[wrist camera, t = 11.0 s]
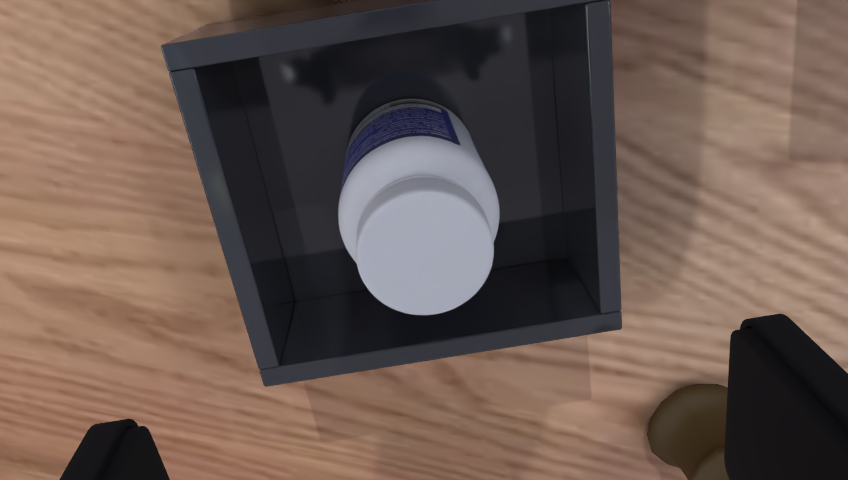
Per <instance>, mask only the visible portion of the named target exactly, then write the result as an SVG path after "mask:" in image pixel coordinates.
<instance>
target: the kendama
mask: <svg viewBox="0 0 848 480" xmlns="http://www.w3.org/2000/svg"><path fill="white" fill-rule="evenodd" d="M727 394H728V388H727V387H724V386H721V385H718V384H696V385H692V386H689V387H686V388H682V389H679V390H677V391H675V392H674V393H673V394H671V395H670V396H669V397H667V398H666V399H665V400H664V401H662V402H661V403H660V405H659V407H658V408H657V410H656V411H655V413H654V414H653V416H652V417H651V420H650V424H649V429H648V433H647V435H648V439H649V443H650V447H651V450H652V452H653V453H654V454H655V455H656V456H658V457H659V458H660V459H661V460H663V461H664V462H665V463H667V464H669V465H672V466H676V467H679V468H680V469H681V470H682V471H683V472H684V474H685V476H686V477H687V479H688V480H729V477H728V475H727V472H726V469H725V463H724V449H725V431H726V413H727Z"/></svg>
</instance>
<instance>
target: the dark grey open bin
mask: <svg viewBox="0 0 848 480" xmlns="http://www.w3.org/2000/svg"><path fill="white" fill-rule="evenodd" d="M161 49H162V52H163V55H164V59H165V62H166V65H167V69H168V71H171V72H169V75H170V78H171V82H172V85H173V88H174V91H175V95H176V98H177V101H178V105H179V108H180V111H181V114H182V118H183V121H184V124H185V128H186V131H187V134H188V138H189V141H190V144H191V147H192V151H193V154H194V157H195V161H196V164H197V167H198V171H199V174H200V177H201V180H202V184H203V187H204V190H205V194H206V197H207V200H208V203H209V207H210V210H211V213H212V217H213V220H214V223H215V227H216V230H217V233H218V236H219V240H220V243H221V246H222V250H223V253H224V256H225V259H226V263H227V266H228V269H229V273H230V276H231V279H232V283H233V286H234V289H235V292H236V296H237V299H238V302H239V306H240V309H241V312H242V315H243V319H244V322H245V325H246V329H247V332H248V335H249V339H250V342H251V345H252V348H253V352H254V355H255V358H256V362H257V365H258V368H259V369H260V374H261V377H262V381H263V384H264V386H266V387H267V386H273V385H279V384H285V383H292V382H298V381H304V380H310V379H316V378H323V377H329V376H335V375H341V374H347V373H353V372H360V371H366V370H372V369H378V368H384V367H391V366H397V365H403V364H409V363H415V362H422V361H428V360H434V359H440V358H446V357H453V356H459V355H465V354H471V353H477V352H483V351H490V350H496V349H502V348H508V347H514V346H521V345H527V344H533V343H539V342H545V341H552V340H558V339H564V338H570V337H576V336H583V335H589V334H595V333H601V332H607V331H613V330H620V329H621V328H622V314H621V311H620V310H621V286H620V258H619V229H618V201H617V173H616V145H615V116H614V88H613V60H612V32H611V3H610V0H352V1H346V2H340V3H334V4H328V5H322V6H316V7H310V8H304V9H298V10H292V11H286V12H280V13H274V14H268V15H262V16H256V17H250V18H243V19H237V20H231V21H225V22H219V23H213V24H207V25H204V26H202V27H200V28H198V29H196V30H193V31H191V32H189V33H187V34H185V35H183V36H180V37H178V38H176V39H174V40H172V41H169V42H167V43H165V44H163V45H161ZM402 99H421V100H427V101H431V102H434V103H436V104H439V105H441V106H443V107H445V108H446V109H448V110H450V111H451V112H452V113H454V114H455V115H456V116H457V117H458V118H459V119H460V120H461V122H462V123H463V124H464V125H465V127H466V128H467V130H468V132H469V133H470V135H471V137H472V139H473V141H474V144H475V146H476V148H477V151H478V153H479V155H480V157H481V159H482V161H483V163H484V165H485V167H486V169H487V171H488V173H489V175H490V177H491V179H492V182H493V184H494V187H495V190H496V193H497V197H498V202H499V212H500V215H499V226H498V231H497V235H496V238H495V240H494V257H493V263H492V267H491V270H490V273H489V275H488V277H487V279H486V281H485V282H484V284H483V285H482V287H481V288H480V289H479V291H478V292H477V293H476V294H475V295H474V296H473V297H471V298H470V299H469V300H468V301H466V302H465V303H463V304H462V305H460V306H458V307H456V308H454V309H452V310H449V311H446V312H443V313H439V314H434V315H413V314H407V313H403V312H400V311H397V310H395V309H392V308H390V307H388V306H387V305H385V304H383V303H382V302H381V301H379V300H378V299H377V298H376V297H375V296H374V295H373V294H372V293H371V292H370V291H369V290H368V288H367V287H366V285H365V284H364V282H363V280H362V278H361V276H360V274H359V271H358V267H357V263H356V262H355V261H354V260H353V258H352V257H351V255H350V254H349V252H348V250H347V249H346V247H345V244H344V242H343V239H342V236H341V233H340V229H339V220H338V207H339V198H340V192H341V185H342V178H343V171H344V164H345V157H346V152H347V147H348V144H349V141H350V139H351V136H352V134H353V133H354V131H355V129H356V128H357V126H358V125H359V124H360V122H361V121H362V120H363V119H364V118H365V117H366V116H367V115H369V114H370V113H371V112H372V111H374V110H375V109H377V108H379V107H381V106H383V105H385V104H387V103H390V102H393V101H397V100H402Z"/></svg>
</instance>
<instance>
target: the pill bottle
mask: <svg viewBox="0 0 848 480" xmlns="http://www.w3.org/2000/svg"><path fill="white" fill-rule="evenodd" d="M499 215H500V212H499V202H498V197H497V193H496V190H495V187H494V184H493V182H492V179H491V177H490V175H489V173H488V171H487V169H486V167H485V165H484V163H483V161H482V159H481V157H480V155H479V153H478V151H477V148H476V146H475V144H474V141H473V139H472V137H471V135H470V133H469V132H468V130H467V128H466V127H465V125H464V124H463V123H462V122H461V120H460V119H459V118H458V117H457V116H456V115H455V114H454V113H452V112H451V111H450V110H448V109H446V108H445V107H443V106H441V105H439V104H436V103H434V102H431V101H427V100H421V99H402V100H397V101H393V102H390V103H387V104H385V105H383V106H381V107H379V108H377V109H375V110H374V111H372V112H371V113H370V114H369V115H367V116H366V117H365V118H364V119H363V120H362V121H361V122H360V124H359V125H358V126H357V128H356V129H355V131H354V133H353V134H352V136H351V139H350V141H349V144H348V147H347V152H346V157H345V164H344V171H343V178H342V185H341V192H340V198H339V207H338V220H339V229H340V233H341V236H342V239H343V242H344V244H345V247H346V249H347V250H348V252H349V254H350V255H351V257H352V258H353V260H354V261H355V262H356V263H357V267H358V271H359V274H360V276H361V278H362V280H363V282H364V284H365V285H366V287H367V288H368V290H369V291H370V292H371V293H372V294H373V295H374V296H375V297H376V298H377V299H378V300H379V301H381V302H382V303H383V304H385V305H387V306H388V307H390V308H392V309H395V310H397V311H400V312H403V313H407V314H413V315H434V314H439V313H443V312H446V311H449V310H452V309H454V308H456V307H458V306H460V305H462V304H463V303H465V302H466V301H468V300H469V299H470V298H471V297H473V296H474V295H475V294H476V293H477V292H478V291H479V289H480V288H481V287H482V285H483V284H484V282H485V281H486V279H487V277H488V275H489V273H490V270H491V267H492V263H493V257H494V240H495V238H496V235H497V231H498V226H499Z"/></svg>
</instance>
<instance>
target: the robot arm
mask: <svg viewBox="0 0 848 480" xmlns="http://www.w3.org/2000/svg"><path fill="white" fill-rule="evenodd" d="M724 463H725V469H726V472H727V475H728V477H729V480H848V373H847V372H845V371H844V370H843V369H842V368H841V367H840V366H839V365H838V364H837V363H836V362H835V361H834V360H833V359H832V358H831V357H830V356H829V355H828V354H827V353H825V352H824V351H823V350H822V349H821V348H820V347H819V346H818V345H817V344H816V343H815V342H814V341H813V340H812V339H811V338H810V337H809V336H808V335H807V334H805V333H804V332H803V331H802V330H801V329H800V328H799V327H798V326H797V325H796V324H795V323H794V322H793V321H792V320H791V319H790V318H789V317H787V316H786V315H784V314H775V315H769V316H763V317H757V318H751V319H746V320H744V321H743V322H742V324H741V327H740V330H735V331H733V332H732V334H731V340H730V358H729V376H728V394H727V413H726V431H725V449H724ZM60 480H170V479H169V477H168V474H167V472H166V469H165V467H164V465H163V462H162V460H161V457H160V455H159V453H158V450H157V448H156V446H155V443H154V441H153V438H152V436H151V434H150V432H149V430H148V428H146V427H145V426H140V427H138V425H137V423H136V422H135V421H134V420H132V419H125V420H119V421H113V422H106V423H100V424H95V425H93V426H91V427H90V429H89V430H88V431H87V433H86V435H85V436H84V438H83V440H82V442H81V443H80V445H79V447H78V449H77V450H76V452H75V454H74V456H73V457H72V459H71V461H70V462H69V464H68V466H67V468H66V469H65V471H64V473H63V475H62V476H61V478H60Z"/></svg>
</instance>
